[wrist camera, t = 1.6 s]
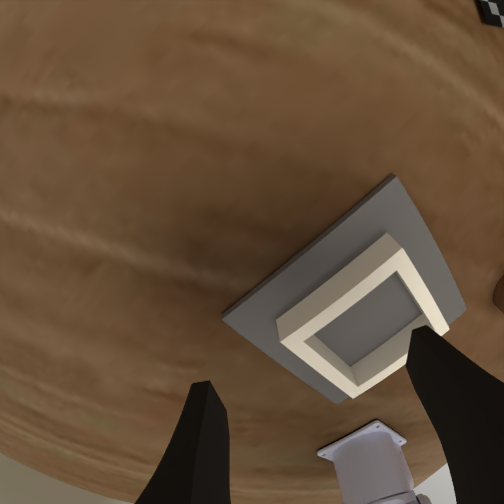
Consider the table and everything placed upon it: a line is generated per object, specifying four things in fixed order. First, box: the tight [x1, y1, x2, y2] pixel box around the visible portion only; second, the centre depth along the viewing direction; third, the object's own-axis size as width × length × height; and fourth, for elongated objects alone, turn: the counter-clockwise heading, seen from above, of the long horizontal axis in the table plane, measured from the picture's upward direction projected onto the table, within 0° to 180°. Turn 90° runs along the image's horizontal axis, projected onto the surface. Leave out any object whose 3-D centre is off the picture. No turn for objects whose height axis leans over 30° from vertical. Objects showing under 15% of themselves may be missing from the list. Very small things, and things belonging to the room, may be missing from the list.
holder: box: [222, 174, 467, 404], centre depth 20 cm, size 14×14×3 cm
